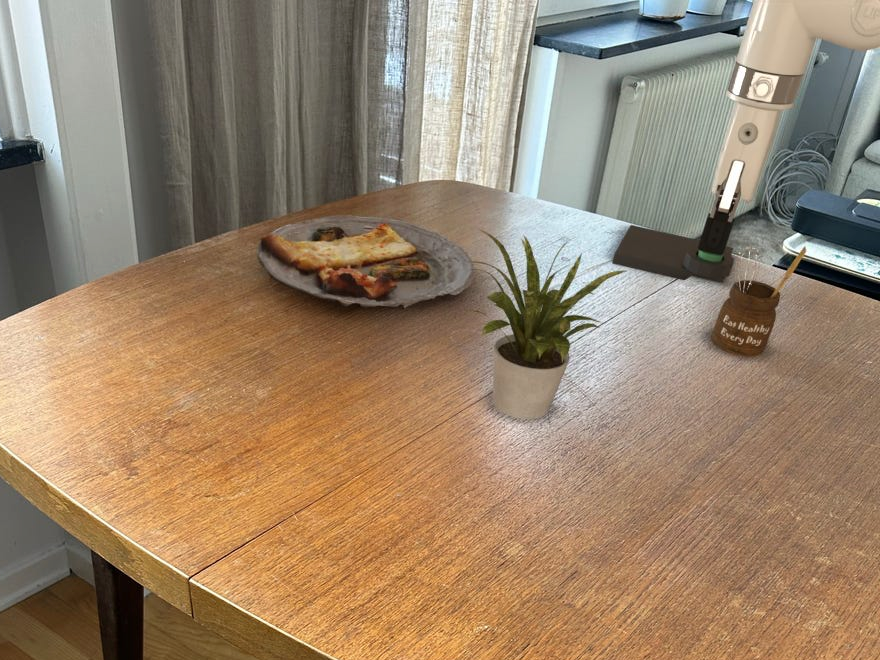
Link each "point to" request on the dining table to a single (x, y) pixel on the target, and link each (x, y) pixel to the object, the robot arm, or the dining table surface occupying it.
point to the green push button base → (669, 255)
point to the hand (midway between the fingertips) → (710, 250)
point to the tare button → (710, 256)
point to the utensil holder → (749, 314)
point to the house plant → (533, 337)
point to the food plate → (365, 261)
